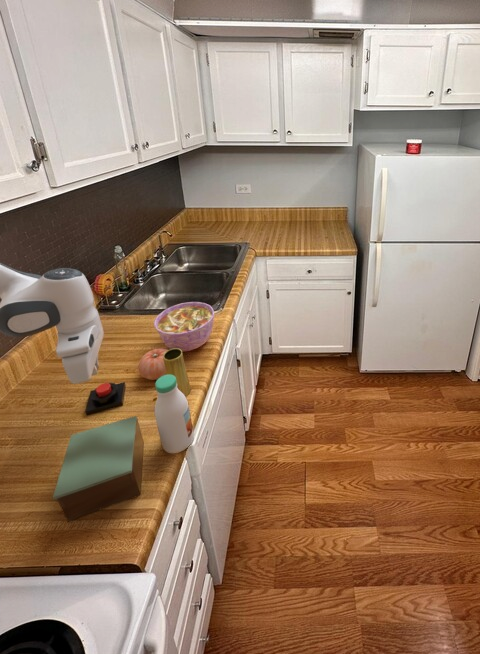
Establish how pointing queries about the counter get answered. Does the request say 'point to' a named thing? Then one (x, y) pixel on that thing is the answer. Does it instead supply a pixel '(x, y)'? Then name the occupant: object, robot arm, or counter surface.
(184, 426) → the milk bottle
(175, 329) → the bowl of food
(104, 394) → the button
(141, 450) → the box
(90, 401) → the black button base
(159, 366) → the orange pumpkin
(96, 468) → the lid
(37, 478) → the counter surface
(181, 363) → the vase
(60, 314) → the robot arm
